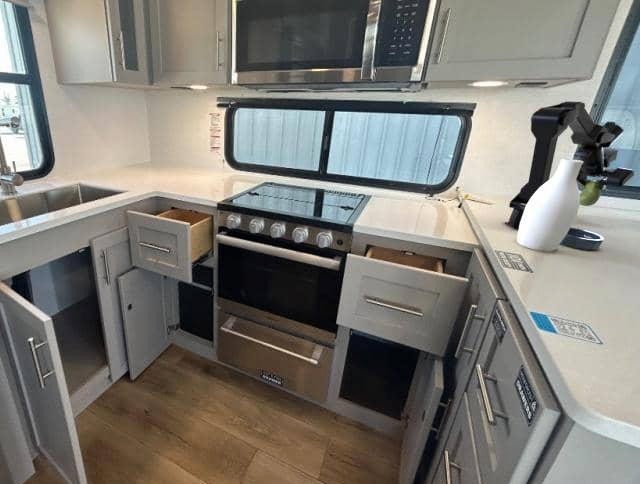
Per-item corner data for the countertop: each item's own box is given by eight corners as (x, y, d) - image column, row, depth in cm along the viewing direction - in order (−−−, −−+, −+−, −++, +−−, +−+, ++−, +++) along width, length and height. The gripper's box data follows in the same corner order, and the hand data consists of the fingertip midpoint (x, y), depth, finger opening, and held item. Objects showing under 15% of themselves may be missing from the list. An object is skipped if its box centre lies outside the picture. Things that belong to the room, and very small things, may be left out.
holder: (565, 248, 98) (571, 237, 96) (540, 234, 108) (545, 224, 106) (608, 253, 96) (614, 242, 95) (579, 238, 106) (584, 228, 105)
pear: (597, 208, 120) (612, 181, 116) (581, 206, 120) (594, 180, 116) (586, 204, 125) (599, 178, 121) (570, 202, 125) (583, 176, 121)
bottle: (508, 235, 106) (540, 155, 96) (553, 243, 101) (591, 160, 91) (516, 247, 96) (552, 160, 86) (565, 257, 92) (609, 166, 82)
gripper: (647, 144, 104) (646, 178, 112) (575, 137, 120) (579, 167, 128) (620, 169, 105) (621, 201, 113) (553, 158, 121) (558, 187, 129)
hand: (594, 188), depth 121 cm, fingers closed on pear, 4 cm apart
